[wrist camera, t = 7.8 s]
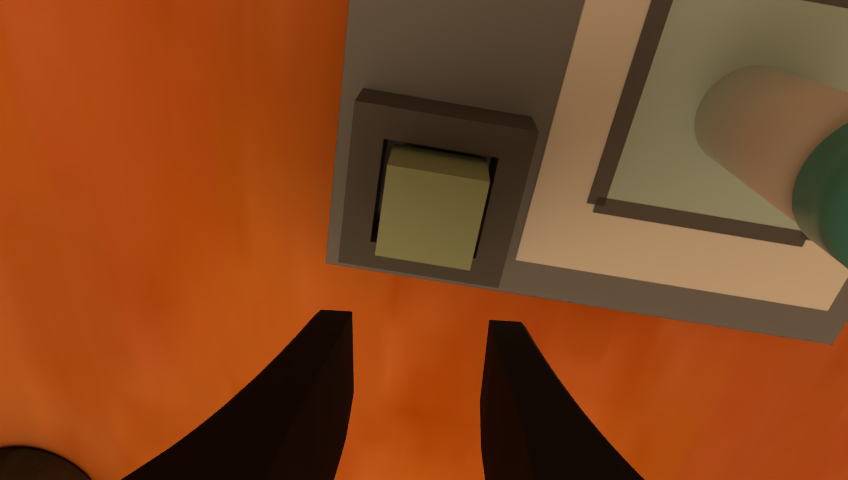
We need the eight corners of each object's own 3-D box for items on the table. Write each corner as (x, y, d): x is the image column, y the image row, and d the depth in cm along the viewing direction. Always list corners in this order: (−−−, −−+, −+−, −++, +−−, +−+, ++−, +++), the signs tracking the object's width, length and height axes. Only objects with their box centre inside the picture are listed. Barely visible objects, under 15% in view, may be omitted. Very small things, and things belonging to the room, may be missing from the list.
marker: (811, 54, 17) (1071, 122, 10) (795, 160, 19) (1011, 286, 11) (694, 70, 17) (864, 147, 10) (688, 173, 19) (833, 304, 12)
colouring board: (1155, -227, 14) (1287, -260, 12) (820, 332, 23) (861, 375, 20) (388, -378, 14) (375, -444, 12) (329, 253, 22) (315, 288, 20)
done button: (486, 159, 18) (490, 182, 16) (468, 241, 19) (469, 270, 18) (393, 143, 18) (386, 164, 16) (381, 227, 19) (375, 255, 17)
